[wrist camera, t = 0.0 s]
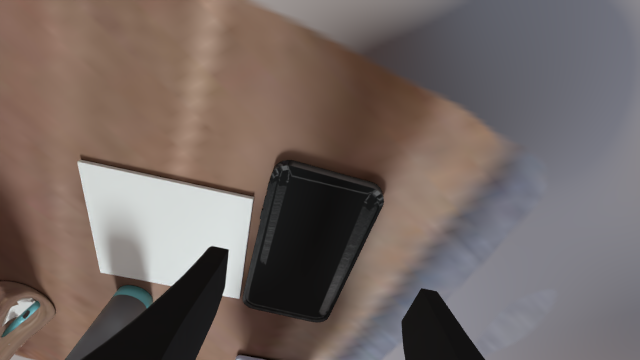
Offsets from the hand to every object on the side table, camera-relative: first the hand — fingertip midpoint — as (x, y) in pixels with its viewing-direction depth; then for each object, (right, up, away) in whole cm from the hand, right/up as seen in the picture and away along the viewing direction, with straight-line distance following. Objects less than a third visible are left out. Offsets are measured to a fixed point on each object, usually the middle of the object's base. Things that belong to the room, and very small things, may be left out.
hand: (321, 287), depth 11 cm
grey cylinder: (-17, -7, +17) cm, 25 cm away
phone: (-1, -1, +13) cm, 13 cm away
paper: (-12, -1, +13) cm, 17 cm away
